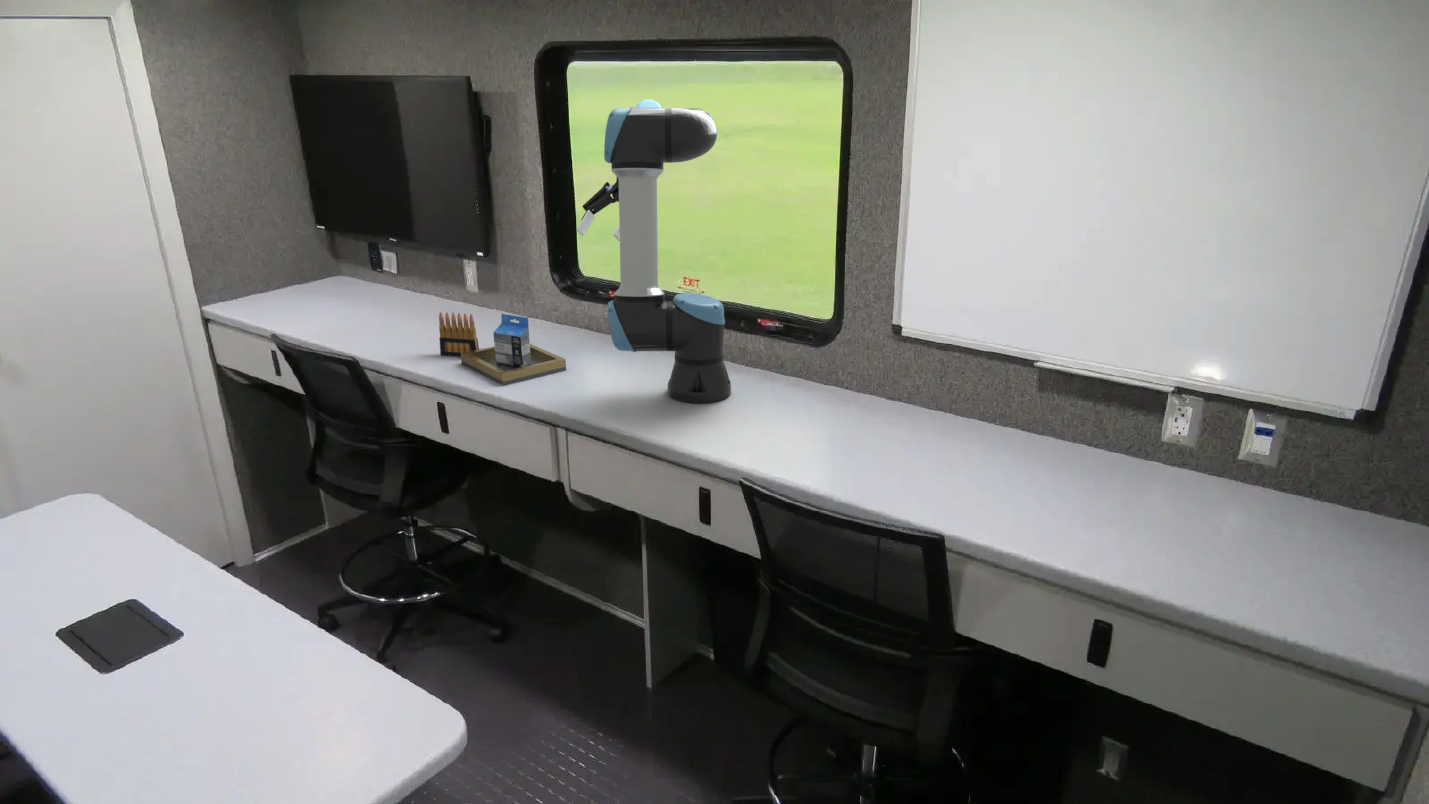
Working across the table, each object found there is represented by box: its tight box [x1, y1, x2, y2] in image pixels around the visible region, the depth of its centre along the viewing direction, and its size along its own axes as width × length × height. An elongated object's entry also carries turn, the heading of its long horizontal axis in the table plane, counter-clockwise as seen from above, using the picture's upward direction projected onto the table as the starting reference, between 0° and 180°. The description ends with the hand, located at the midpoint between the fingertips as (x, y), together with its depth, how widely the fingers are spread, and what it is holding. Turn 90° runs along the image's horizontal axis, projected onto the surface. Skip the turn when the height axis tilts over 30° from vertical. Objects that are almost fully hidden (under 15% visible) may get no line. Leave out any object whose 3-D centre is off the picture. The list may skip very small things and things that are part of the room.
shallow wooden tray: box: [460, 343, 567, 386], centre depth 220 cm, size 22×18×3 cm
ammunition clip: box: [438, 311, 480, 358], centre depth 228 cm, size 11×2×12 cm, turn 78°
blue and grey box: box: [493, 313, 531, 367], centre depth 218 cm, size 9×4×12 cm, turn 64°
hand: (598, 235), depth 226 cm, fingers open, 13 cm apart
